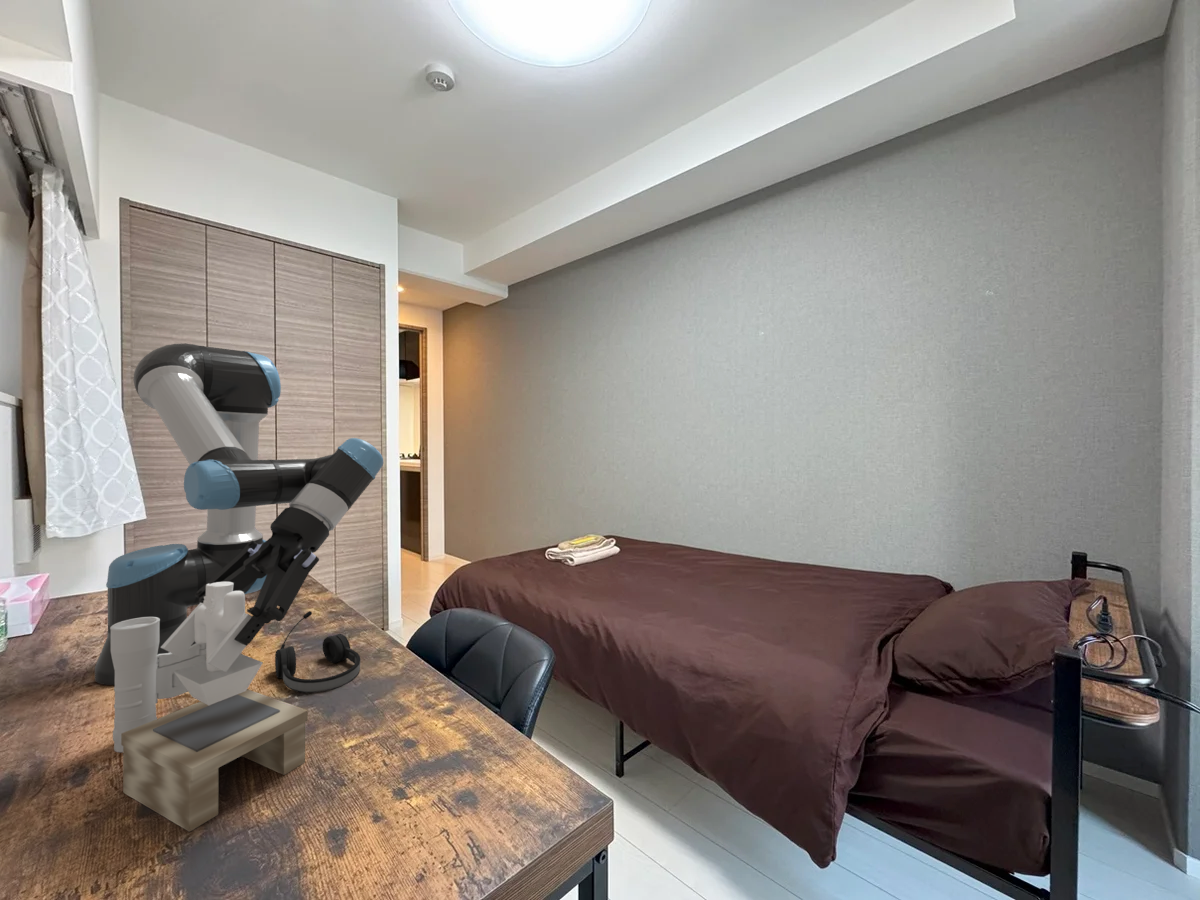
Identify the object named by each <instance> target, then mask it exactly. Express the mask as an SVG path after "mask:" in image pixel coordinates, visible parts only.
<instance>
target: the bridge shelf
mask: <svg viewBox="0 0 1200 900" xmlns="http://www.w3.org/2000/svg"><path fill="white" fill-rule="evenodd" d="M308 713H309V711H308V710H307V709H305V708H302V707H299V706H298V705H297V706H296V705H293V704H291V703H288V702H285V701H284V700H283V701H282V700H279V699H277V698H273V697H271V696H268V695H265V694H262V693H259V692H257V691H254V690H251V689H248V688H247V690H246V691H245V692H242V693H240V694H237V695H234V696H232V697H229V698H227V699H224V700H222V701H219V702H216V703H214V704H211V705H207V704H205V703H203V702H201V701H198V702H196V703H193V704H191V705H188V706H186V707H183V708H180V709H179V710H176V711H173V712H171V713H167V714H166V715H164V716H161V717H159V718H158V717H157V719H156V720H153V721H151V722H149V723H146V724H144V725H141V726H139V727H136V728H134V729H131V730H129V731H126V732H124V733H121V745H122V746H123V752H122V753H123V755H122V757H123V758H122V762H123V763H122V765H123V766H122V767H123V768H122V769H123V771H122V773H123V775H122V776H123V778H122V779H123V780H122V781H123V783H122V784H123V785H122V789H123V793H124V795H127V796H128V797H130V798H132V799H133V800H135V801H136V802H139V803H140V804H142V805H143V806H145V807H147V808H149V809H150V810H152V811H154V812H156V813H157V814H159V815H160V816H162V817H164V818H166V819H167V820H169V821H170V822H172V823H173V824H175V825H178V826H179V827H180V828H182V829H184V830H186V831H187V832H189V833H190V832H192V831H193V830H195V829H197V828H198V827H200V826H202V825H203V824H205V823H207V822H208V821H210V820H212V819H214V818H215V817H217V816H218V815H219V768H220V767H222V766H224V765H227V764H229V763H230V762H232V761H235V760H236V759H237V758H238V759H239V758H240V757H243V758H245V759H247V760H250V761H252V762H254V763H256V764H259V765H261V766H263V767H265V768H267V769H270V770H272V771H274V772H277V773H279V774H281V775H283V776H284V775H286V774H288V773H290V772H291V771H293V770H295V769H297V768H298V767H300V766H301V765H303V764H304V763H306V722H308V718H309V717H308V716H309V715H308Z"/></svg>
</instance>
